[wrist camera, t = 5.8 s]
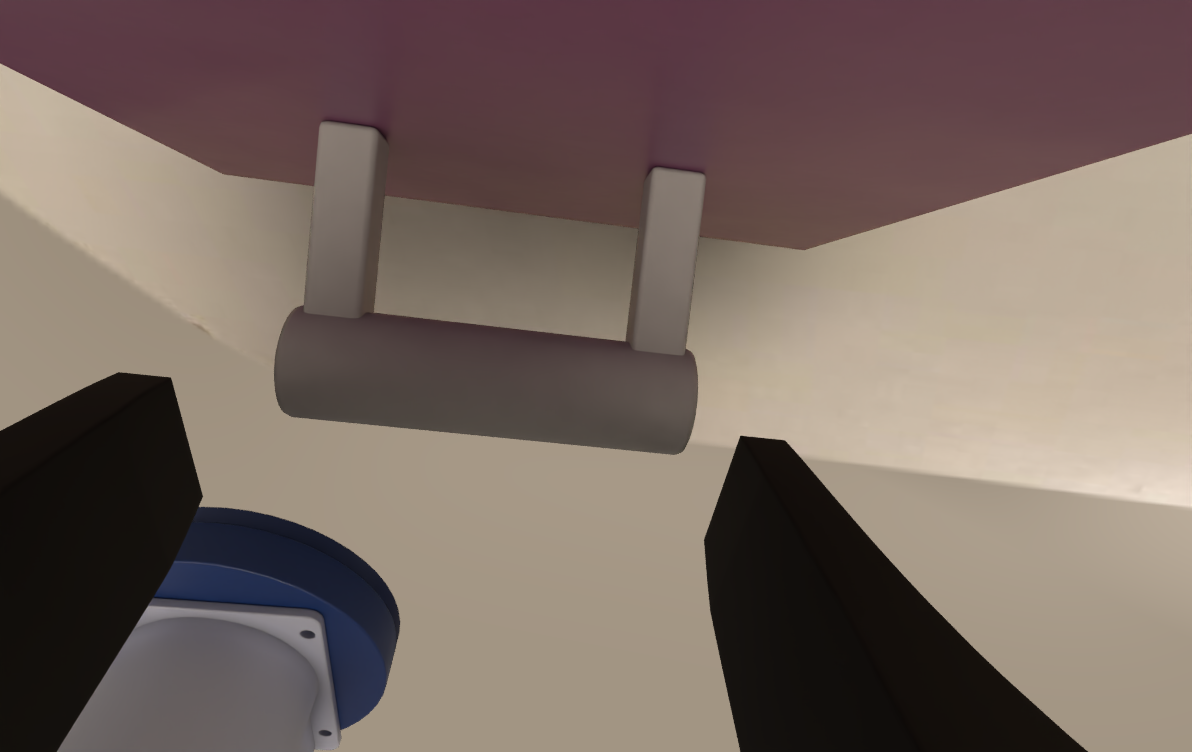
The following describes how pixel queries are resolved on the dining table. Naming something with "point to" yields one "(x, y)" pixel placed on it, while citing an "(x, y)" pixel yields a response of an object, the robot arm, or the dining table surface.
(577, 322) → the dining table surface
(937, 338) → the dining table surface
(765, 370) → the dining table surface
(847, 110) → the lid
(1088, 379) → the dining table surface
